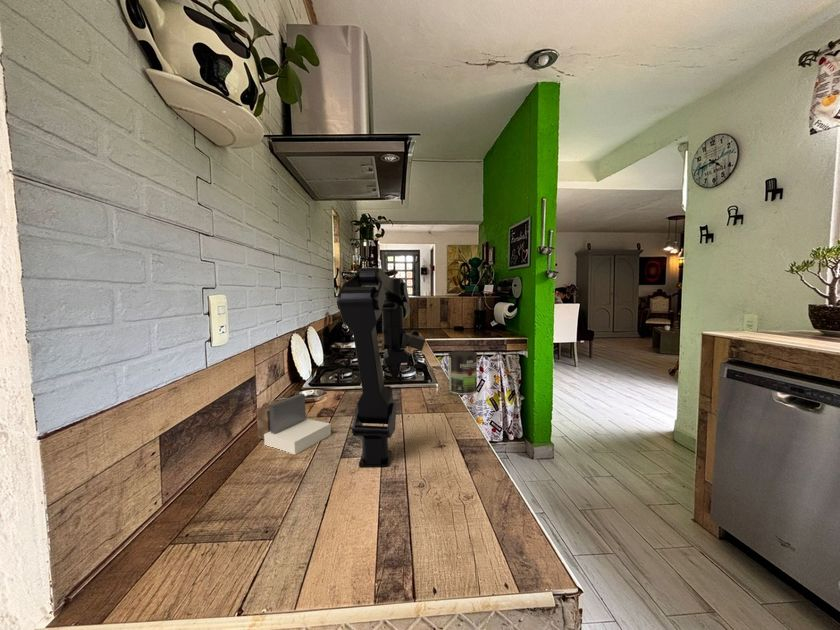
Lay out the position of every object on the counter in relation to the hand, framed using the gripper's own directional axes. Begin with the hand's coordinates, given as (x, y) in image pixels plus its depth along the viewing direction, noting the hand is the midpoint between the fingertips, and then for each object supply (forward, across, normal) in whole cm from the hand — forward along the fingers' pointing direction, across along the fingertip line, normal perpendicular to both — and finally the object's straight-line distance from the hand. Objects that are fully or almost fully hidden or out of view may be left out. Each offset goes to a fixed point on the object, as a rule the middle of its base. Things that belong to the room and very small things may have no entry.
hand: (395, 380), depth 96 cm
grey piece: (+9, -2, +31) cm, 32 cm away
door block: (+12, -6, +26) cm, 29 cm away
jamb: (+12, -1, +32) cm, 35 cm away
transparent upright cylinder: (+15, +25, -26) cm, 39 cm away
